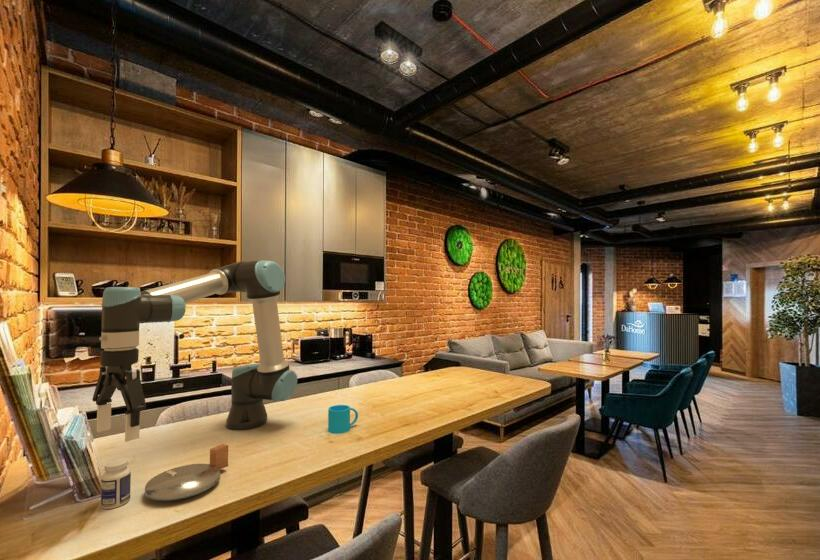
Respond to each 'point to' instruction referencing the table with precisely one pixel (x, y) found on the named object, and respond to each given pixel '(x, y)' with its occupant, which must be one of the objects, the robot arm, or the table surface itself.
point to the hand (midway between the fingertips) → (117, 435)
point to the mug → (340, 419)
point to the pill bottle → (115, 484)
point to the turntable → (188, 478)
